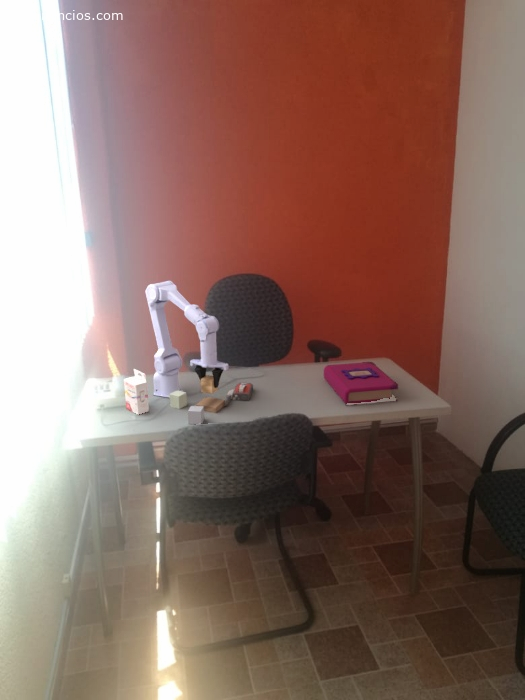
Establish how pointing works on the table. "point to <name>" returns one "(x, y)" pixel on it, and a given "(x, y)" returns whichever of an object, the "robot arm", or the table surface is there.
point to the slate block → (196, 414)
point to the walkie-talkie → (240, 392)
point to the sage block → (178, 399)
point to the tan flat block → (211, 404)
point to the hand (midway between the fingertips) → (210, 386)
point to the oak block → (208, 384)
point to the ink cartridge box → (136, 393)
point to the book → (359, 382)
